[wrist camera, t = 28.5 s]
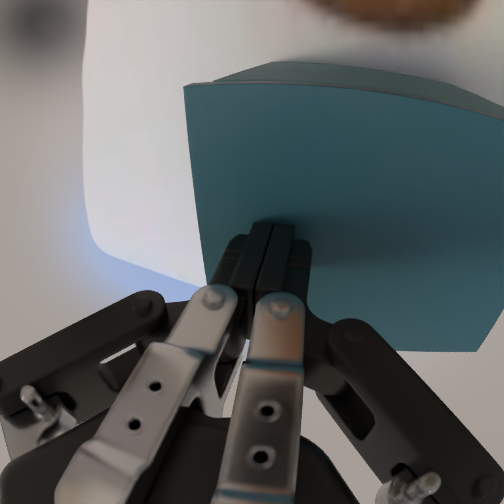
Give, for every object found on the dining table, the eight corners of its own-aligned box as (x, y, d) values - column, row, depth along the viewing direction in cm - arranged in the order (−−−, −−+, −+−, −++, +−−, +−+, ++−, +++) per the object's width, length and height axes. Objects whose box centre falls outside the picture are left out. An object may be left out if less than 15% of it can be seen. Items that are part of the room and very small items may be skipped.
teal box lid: (218, 321, 17) (214, 333, 16) (191, 83, 10) (182, 86, 9) (473, 340, 14) (476, 352, 14) (557, 137, 7) (568, 144, 7)
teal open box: (272, 201, 27) (231, 318, 17) (271, 61, 20) (211, 80, 10) (428, 218, 25) (473, 340, 14) (452, 85, 18) (557, 137, 8)
